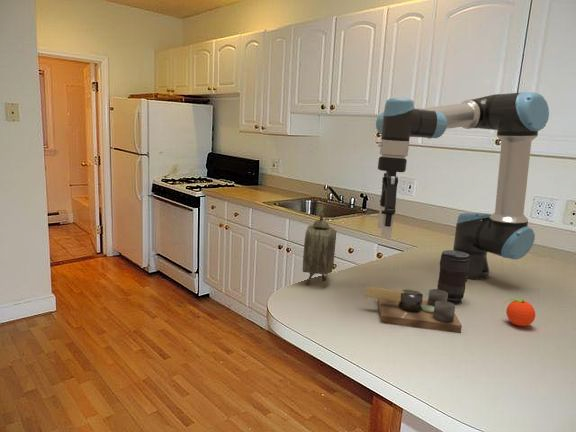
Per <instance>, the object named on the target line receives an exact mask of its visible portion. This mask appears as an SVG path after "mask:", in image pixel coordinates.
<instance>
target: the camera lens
mask: <svg viewBox="0 0 576 432" xmlns="http://www.w3.org/2000/svg"><path fill="white" fill-rule="evenodd" d="M468 267H469V254H467V253H465V252H460V251H454V250H453V249H451V250H450V249H447V250H442V251H441V255H440V261H439V273H438V274H439V275H438V280H437V287H436V289H439V290H443V291H445V292H447V293H448V298H447V302H450V303H453V304H454V305H460V304H461V302H462V299H464V295H465V291H466V283H467V281H468V278H467V272H468Z"/></svg>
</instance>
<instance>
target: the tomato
mask: <svg viewBox="0 0 576 432" xmlns="http://www.w3.org/2000/svg"><path fill="white" fill-rule="evenodd" d="M508 301H511V302H510V303H508V306H507V307H506V317H507V319H508V320H509V321H510V322H511V324H513V325H515V326H518V327H526V326H530V325H531V324H533V322H534V321H535V318H536V310H535V308H534V307H533V305H532V304H531V303H530V302H528V301H526V300H522V299H519V298H513V299H512V298H510V299H508V300H507V302H508ZM505 303H506V302H504V303H503V305H505Z"/></svg>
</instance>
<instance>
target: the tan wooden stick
mask: <svg viewBox="0 0 576 432" xmlns="http://www.w3.org/2000/svg"><path fill="white" fill-rule="evenodd" d="M365 297H366V298H369V299H375V300H376V299H377V300H378V299H383V300H392V301H399V307H400V308H401V309H403V310H406V311H411V312H418V311H420V310H421V306H422V300H424V299H423V297H424V294H423V293H421V292H420V291H418V290H414V289H402V290H401V289H391V288H382V287H376V286H375V287H374V286H369V285H368V286H366V293H365Z"/></svg>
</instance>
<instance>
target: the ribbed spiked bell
mask: <svg viewBox="0 0 576 432" xmlns="http://www.w3.org/2000/svg"><path fill="white" fill-rule="evenodd" d="M324 211H325V206H324V205H322V206H321V207H320V214H319V215H320V216H319V219H317V220H315V221H314V222H313V224H312V225H310V224H309V225H308V226H307V227H306V231H305V233H304V234H305V235H304V244H303V256H302V258H303V259H302V272H303V273H308V274H309V276H308V278H307V279H306V280H305V281H304V283H305V285H307V286H308V285H310V284H311V279H312V277H313V276H314V275H315V274H317V275H321V276H322V277H321V278H320V279H321V281H322V282H326V281H327V277H326V275H328V274H331V273H332V272H333V270H334V269H333V268H334V262H335V254H336V253H335V252H336V244H337V243H336V241H337V230H336V229H335V228H333V227H331V226H330V224H329V223H328V221H326V220H325V219H324Z"/></svg>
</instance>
